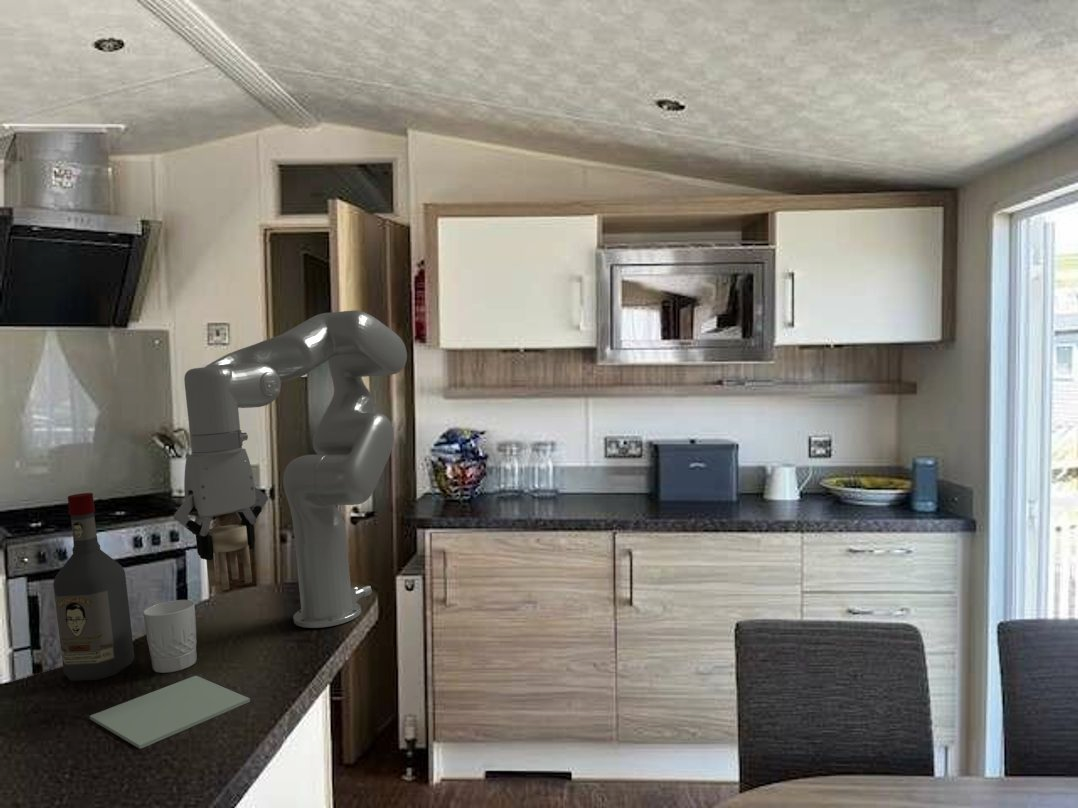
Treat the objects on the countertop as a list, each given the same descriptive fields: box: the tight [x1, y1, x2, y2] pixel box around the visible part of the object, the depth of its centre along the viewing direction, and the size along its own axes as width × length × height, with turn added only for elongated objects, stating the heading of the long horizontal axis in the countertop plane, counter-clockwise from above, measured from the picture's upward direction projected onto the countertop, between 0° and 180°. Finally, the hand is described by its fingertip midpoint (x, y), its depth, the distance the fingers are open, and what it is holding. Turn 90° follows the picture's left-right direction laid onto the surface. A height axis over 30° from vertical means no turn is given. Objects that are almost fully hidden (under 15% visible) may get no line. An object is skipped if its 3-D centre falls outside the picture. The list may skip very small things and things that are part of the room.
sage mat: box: [89, 675, 251, 750], centre depth 116 cm, size 16×16×1 cm
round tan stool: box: [206, 524, 253, 591], centre depth 129 cm, size 6×6×9 cm
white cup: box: [142, 599, 198, 674], centre depth 134 cm, size 8×8×10 cm
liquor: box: [52, 492, 135, 682], centre depth 133 cm, size 9×9×30 cm
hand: (227, 552), depth 129 cm, fingers closed on round tan stool, 6 cm apart
